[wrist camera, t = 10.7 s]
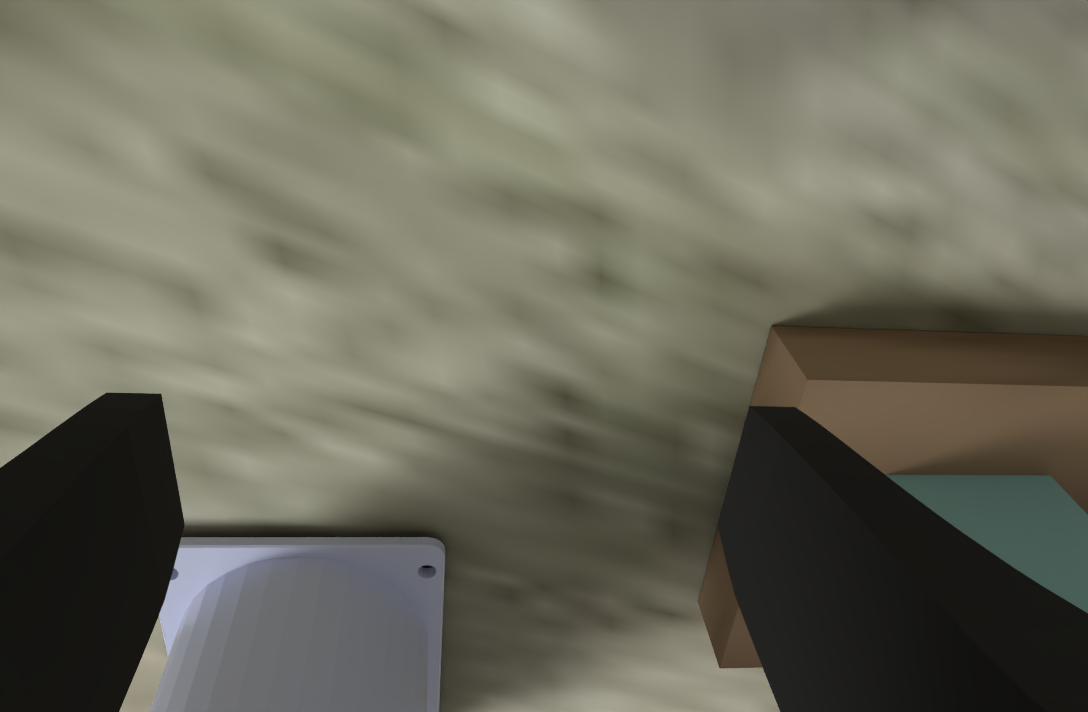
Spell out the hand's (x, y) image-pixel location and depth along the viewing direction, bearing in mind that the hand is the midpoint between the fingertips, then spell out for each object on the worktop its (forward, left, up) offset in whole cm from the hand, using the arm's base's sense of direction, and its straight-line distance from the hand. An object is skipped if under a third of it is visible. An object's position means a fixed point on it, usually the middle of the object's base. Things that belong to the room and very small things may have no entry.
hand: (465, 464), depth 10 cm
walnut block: (-8, -13, -9) cm, 18 cm away
